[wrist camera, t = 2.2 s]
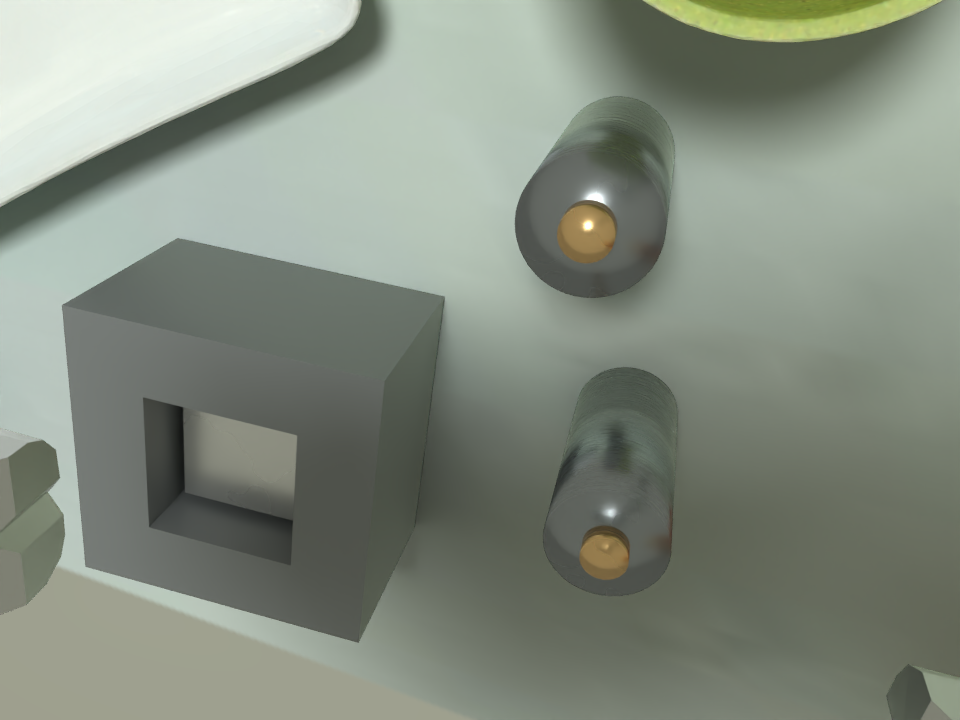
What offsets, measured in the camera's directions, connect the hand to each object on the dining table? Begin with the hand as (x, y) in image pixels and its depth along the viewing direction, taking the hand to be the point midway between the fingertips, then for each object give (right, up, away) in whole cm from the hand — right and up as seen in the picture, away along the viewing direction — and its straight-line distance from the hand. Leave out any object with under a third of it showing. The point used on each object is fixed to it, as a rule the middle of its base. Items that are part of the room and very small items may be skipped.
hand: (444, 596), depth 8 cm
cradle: (-6, +1, +22) cm, 23 cm away
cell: (+4, +8, +17) cm, 19 cm away
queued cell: (+5, +1, +20) cm, 21 cm away
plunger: (-7, 0, +19) cm, 20 cm away
